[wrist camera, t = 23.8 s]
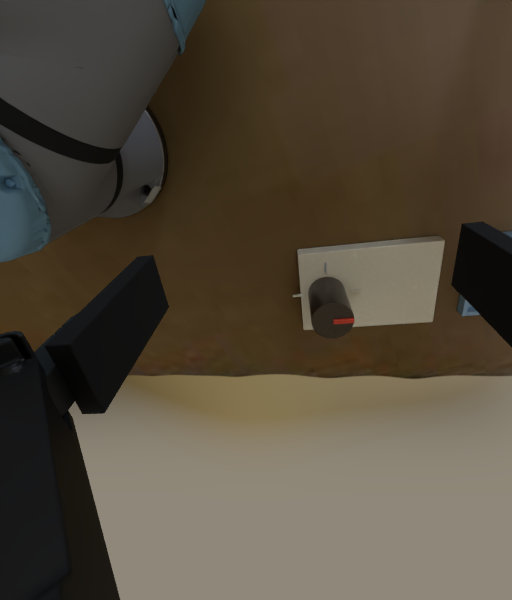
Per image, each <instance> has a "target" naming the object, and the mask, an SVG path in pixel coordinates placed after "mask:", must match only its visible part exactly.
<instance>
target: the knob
mask: <svg viewBox="0 0 512 600" xmlns="http://www.w3.org/2000/svg"><path fill="white" fill-rule="evenodd" d="M308 298H309V306H310V315H311V323H312V327H313V329H314V330H315V331H316V333H318V334H319V335H321V336H323V337H326V338H337V337H341V336H343V335H345V334H346V333H348V332H349V331H350V330H351V328H352V327H353V324H354V314H353V311H352V308H351V305H350V302H349V299H348V296H347V293H346V291H345V288H344V285H343V284H342V283H341V282H340V281H339V280H338V279H336V278H333V277H323V278H320V279H317V280H316V281H314V282H313V283H312V285H311V286H310V288H309V291H308Z"/></svg>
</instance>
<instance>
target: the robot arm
mask: <svg viewBox="0 0 512 600" xmlns="http://www.w3.org/2000/svg"><path fill="white" fill-rule="evenodd" d="M205 2H206V0H0V262H6V261H10V260H13V259H16V258H18V257H21V256H24V255H26V254H30V253H33V252H37V251H39V250H41V249H42V248H43V247H44V246H45V245H46V244H48V243H50V242H52V241H53V240H55V239H57V238H59V237H61V236H62V235H64V234H66V233H68V232H70V231H71V230H73V229H75V228H77V227H79V226H80V225H82V224H84V223H86V222H88V221H89V220H91V219H93V218H95V217H109V218H120V217H126V216H130V215H133V214H135V213H137V212H139V211H141V210H142V209H144V208H145V207H147V206H148V205H149V204H151V203H152V202H153V201H154V200H155V199H156V197H157V196H158V195H159V193H160V192H161V190H162V188H163V186H164V183H165V180H166V176H167V171H168V152H167V146H166V141H165V138H164V135H163V132H162V129H161V127H160V125H159V123H158V121H157V119H156V118H155V116H154V114H153V113H152V111H151V110H150V109H149V107H148V104H149V102H150V101H151V99H152V97H153V95H154V94H155V92H156V90H157V89H158V87H159V85H160V84H161V82H162V80H163V79H164V77H165V75H166V74H167V72H168V70H169V69H170V67H171V65H172V63H173V62H174V60H175V58H176V57H177V55H178V54H179V55H181V54H182V53H183V51H184V49H185V40H186V39H187V37H188V35H189V33H190V31H191V29H192V27H193V25H194V24H195V22H196V20H197V18H198V16H199V14H200V12H201V10H202V9H203V7H204V4H205ZM451 285H452V286H453V287H454V288H455V289H456V290H457V291H458V292H459V293H460V294H461V295H462V296H463V297H464V298H465V299H466V301H467V302H468V303H469V304H470V305H471V306H472V307H473V308H474V309H475V310H476V311H477V312H478V313H479V314H480V315H481V316H482V317H483V318H484V319H485V320H486V321H487V322H488V323H489V324H490V325H491V326H492V327H493V328H494V329H495V330H496V331H497V333H498V334H499V335H500V336H501V337H502V338H503V339H504V340H505V341H506V342H507V343H508V344H509V345H510V346H511V347H512V238H511V237H510V236H508V235H506V234H504V233H502V232H500V231H499V230H497V229H495V228H493V227H491V226H489V225H488V224H486V223H484V222H475V223H465V224H462V227H461V232H460V238H459V244H458V249H457V255H456V261H455V267H454V272H453V278H452V284H451ZM168 308H169V306H168V302H167V299H166V296H165V293H164V289H163V286H162V283H161V280H160V276H159V273H158V270H157V267H156V263H155V260H154V257H153V255H151V256H142V257H137V258H136V259H135V260H134V261H133V262H131V263H130V264H129V265H128V266H127V267H126V268H125V269H124V270H123V271H122V272H121V273H120V274H119V275H118V276H117V277H116V278H115V279H114V280H113V281H112V282H111V283H110V284H109V285H108V286H106V287H105V288H104V289H103V290H102V291H101V292H100V293H99V294H98V295H97V296H96V297H95V298H94V299H93V300H92V301H91V302H90V303H89V304H88V305H87V306H86V307H85V308H84V309H82V310H81V311H80V312H79V313H78V314H76V315H75V316H73V317H71V318H70V319H69V320H68V321H67V322H66V323H65V324H64V325H63V326H62V328H59V329H58V330H57V331H56V332H55V335H52V336H51V337H50V338H49V339H48V340H47V341H46V342H45V343H44V344H42V345H41V346H40V347H39V348H38V349H37V350H36V351H35V352H34V351H33V350H32V348H31V346H30V345H29V343H28V341H27V340H26V338H25V336H24V335H23V333H22V332H18V331H13V332H7V333H3V334H0V600H120V598H119V594H118V590H117V586H116V582H115V578H114V575H113V571H112V567H111V563H110V560H109V556H108V552H107V548H106V544H105V540H104V536H103V533H102V529H101V525H100V521H99V517H98V513H97V509H96V506H95V502H94V498H93V494H92V491H91V486H90V483H89V479H88V475H87V471H86V468H85V463H84V460H83V456H82V452H81V448H80V444H79V440H78V437H77V433H76V429H75V425H74V421H73V418H72V416H71V415H70V413H69V411H68V410H69V408H70V407H71V406H72V404H73V403H74V401H76V403H77V405H78V407H79V409H80V410H81V412H82V414H98V413H105V412H106V410H107V408H108V407H109V405H110V403H111V402H112V400H113V398H114V397H115V395H116V393H117V392H118V390H119V388H120V387H121V385H122V383H123V382H124V380H125V378H126V377H127V375H128V374H129V372H130V370H131V369H132V367H133V365H134V364H135V362H136V360H137V359H138V357H139V356H140V354H141V352H142V351H143V349H144V347H145V346H146V344H147V342H148V341H149V339H150V337H151V336H152V334H153V332H154V331H155V329H156V328H157V326H158V324H159V323H160V321H161V319H162V318H163V316H164V314H165V313H166V311H167V309H168Z"/></svg>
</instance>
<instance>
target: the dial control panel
mask: <svg viewBox="0 0 512 600" xmlns="http://www.w3.org/2000/svg"><path fill="white" fill-rule="evenodd" d="M444 244H445V240H444V239H442V238H441V237H440V236H428V237H418V238H408V239H398V240H388V241H377V242H367V243H357V244H347V245H337V246H327V247H316V248H306V249H298V250H297V253H298V266H299V279H300V292H301V294H293V297H301V305H302V317H303V330H314V329H313V327H312V323H311V315H310V306H309V298H308V291H309V288H310V286H311V285H312V283H313V282H314V281H316V280H317V279H320V278H323V277H333V278H336V279H338V280H339V281H340V282H341V283H342V284H343V285H344V288H345V291H346V293H347V296H348V299H349V302H350V305H351V308H352V311H353V314H354V324H353V327H361V326H376V325H392V324H407V323H423V322H433V316H434V310H435V303H436V297H437V290H438V283H439V277H440V270H441V264H442V257H443V251H444Z"/></svg>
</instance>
